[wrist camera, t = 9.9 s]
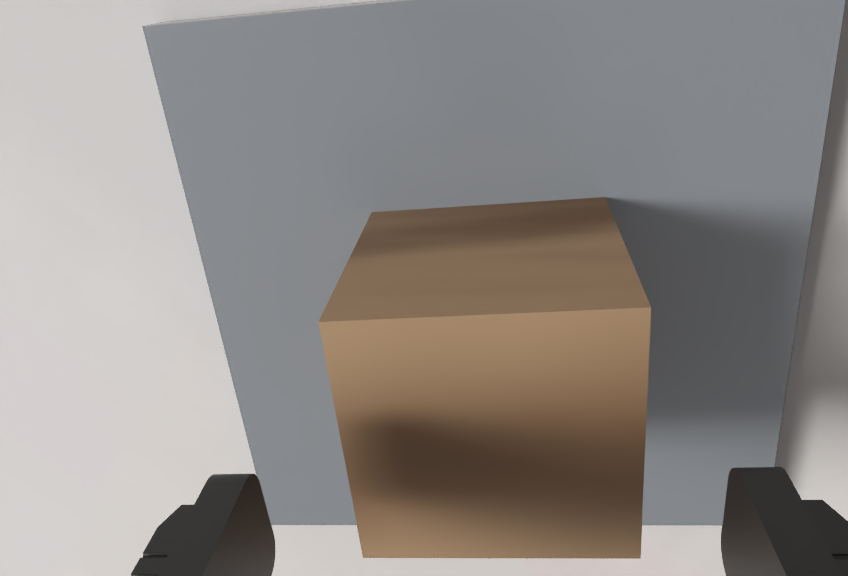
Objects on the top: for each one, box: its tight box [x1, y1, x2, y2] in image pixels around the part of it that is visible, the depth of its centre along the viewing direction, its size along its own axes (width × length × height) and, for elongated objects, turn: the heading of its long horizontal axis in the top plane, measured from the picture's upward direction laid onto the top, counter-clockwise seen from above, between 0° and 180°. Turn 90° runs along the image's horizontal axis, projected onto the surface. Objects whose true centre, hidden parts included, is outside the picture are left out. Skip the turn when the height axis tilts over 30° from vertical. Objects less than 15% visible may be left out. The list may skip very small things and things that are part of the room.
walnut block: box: [318, 197, 651, 558], centre depth 17 cm, size 6×6×6 cm
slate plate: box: [142, 0, 846, 525], centre depth 20 cm, size 16×16×1 cm
